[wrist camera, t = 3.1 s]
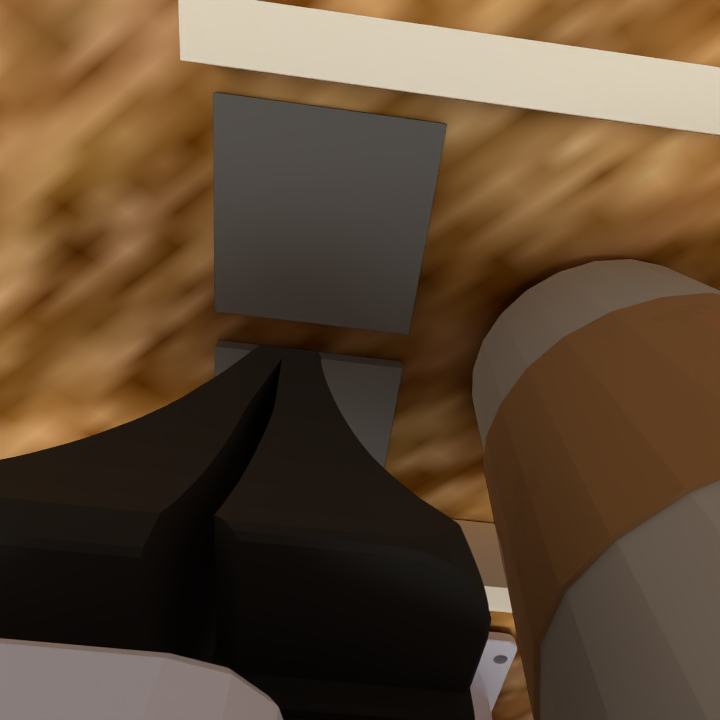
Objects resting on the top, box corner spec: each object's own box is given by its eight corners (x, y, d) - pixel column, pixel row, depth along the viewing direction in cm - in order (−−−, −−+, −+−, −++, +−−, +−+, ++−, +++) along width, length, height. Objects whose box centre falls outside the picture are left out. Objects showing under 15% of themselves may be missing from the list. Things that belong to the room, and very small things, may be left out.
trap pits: (376, 499, 17) (377, 508, 16) (218, 483, 16) (215, 491, 16) (444, 123, 12) (447, 123, 11) (218, 92, 11) (213, 92, 11)
